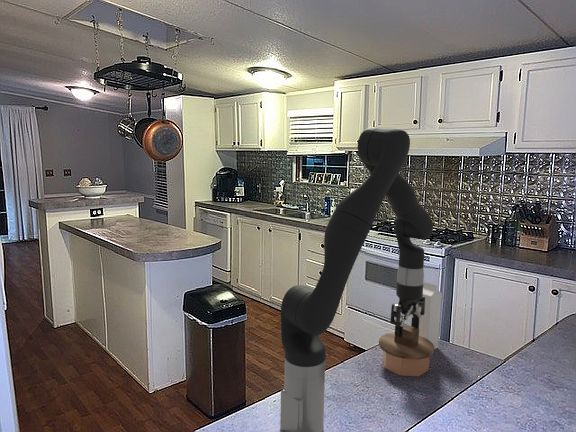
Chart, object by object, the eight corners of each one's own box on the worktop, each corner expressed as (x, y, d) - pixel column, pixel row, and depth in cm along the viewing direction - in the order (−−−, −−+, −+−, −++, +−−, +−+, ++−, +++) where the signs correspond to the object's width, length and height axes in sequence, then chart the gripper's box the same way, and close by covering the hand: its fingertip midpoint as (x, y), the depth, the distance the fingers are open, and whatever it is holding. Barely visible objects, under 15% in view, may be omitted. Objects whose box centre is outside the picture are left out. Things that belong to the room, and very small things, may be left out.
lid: (414, 364, 117) (415, 344, 116) (367, 344, 129) (368, 325, 128) (444, 348, 128) (445, 329, 127) (398, 331, 139) (399, 313, 139)
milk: (427, 352, 138) (431, 287, 134) (411, 345, 143) (415, 282, 139) (438, 347, 141) (442, 283, 138) (422, 341, 146) (426, 279, 143)
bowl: (411, 380, 120) (412, 360, 120) (375, 363, 130) (376, 345, 129) (435, 366, 129) (436, 347, 128) (399, 351, 138) (400, 334, 137)
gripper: (407, 288, 118) (404, 344, 120) (434, 279, 127) (431, 331, 130) (384, 282, 124) (382, 335, 126) (412, 274, 133) (409, 323, 135)
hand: (406, 333), depth 128 cm, fingers open, 8 cm apart
